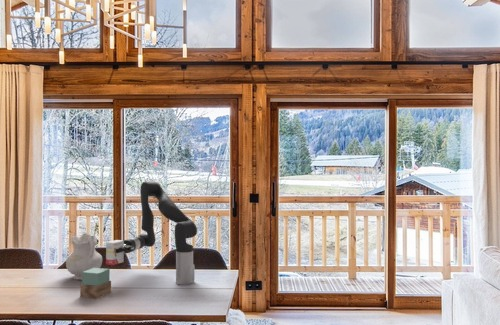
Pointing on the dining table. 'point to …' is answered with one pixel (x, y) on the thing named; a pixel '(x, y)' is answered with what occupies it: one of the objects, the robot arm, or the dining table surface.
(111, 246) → the ink box
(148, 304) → the dining table surface
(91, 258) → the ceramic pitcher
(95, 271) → the green block
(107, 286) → the walnut block
